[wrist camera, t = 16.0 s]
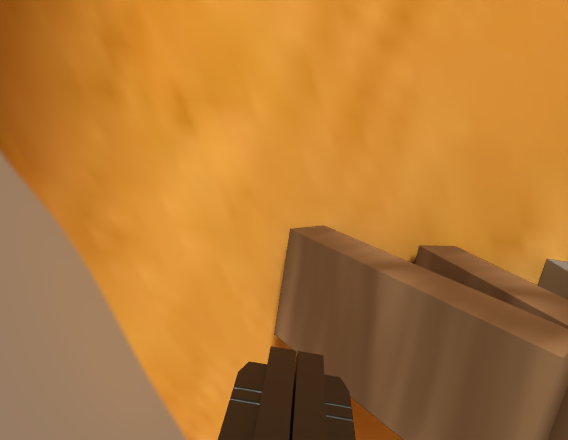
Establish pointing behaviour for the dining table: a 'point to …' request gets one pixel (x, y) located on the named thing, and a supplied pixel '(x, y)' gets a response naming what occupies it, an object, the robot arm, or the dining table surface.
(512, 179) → the dining table surface
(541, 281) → the domino
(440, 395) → the domino
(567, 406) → the domino
